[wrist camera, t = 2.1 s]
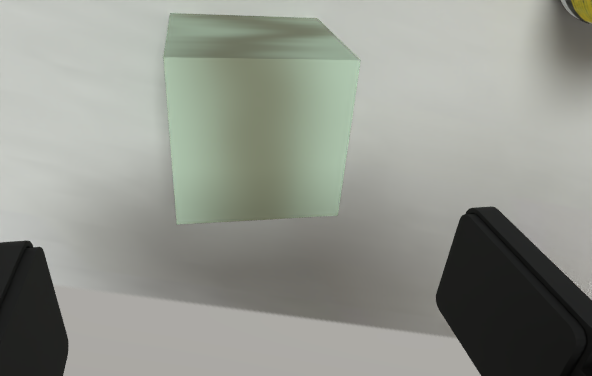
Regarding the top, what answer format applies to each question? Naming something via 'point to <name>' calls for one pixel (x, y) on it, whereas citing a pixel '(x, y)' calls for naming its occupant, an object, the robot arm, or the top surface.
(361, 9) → the top surface
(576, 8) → the supplement bottle
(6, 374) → the robot arm
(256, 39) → the sage cube
